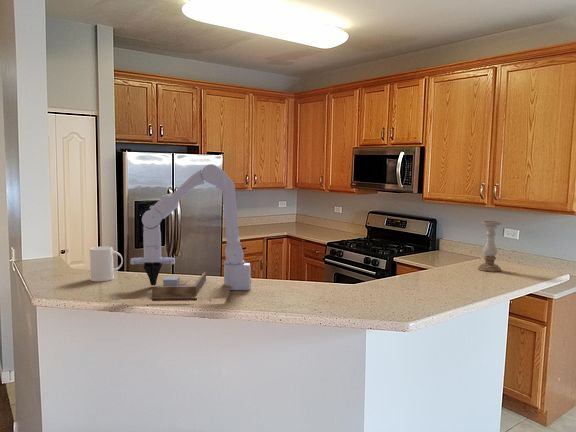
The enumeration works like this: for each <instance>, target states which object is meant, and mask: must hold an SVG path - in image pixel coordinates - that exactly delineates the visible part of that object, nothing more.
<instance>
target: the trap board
mask: <svg viewBox="0 0 576 432" xmlns="http://www.w3.org/2000/svg"><path fill="white" fill-rule="evenodd" d="M188 282H189V280H180V285H179V286H163V285H161V286H159V285H157V286H156V285H151V296H152V297H154V298H151V300H152V302H184V301H185V302H188V301H189V302H190V301H194V302H195V301H197V300H198V299H197V298H198V297H197V295H198V294H199V292H200V291H201V290H202V288H203V286H204V284H205V283H206V282H207V272H206V271H205V272H202V274H201V275H200V277H199V278H198V279H197V280H196V281H195V282H196V283H188ZM161 297H164V298H161ZM166 297H167V298H166ZM175 297H176V298H175ZM177 297H180V298H177Z"/></svg>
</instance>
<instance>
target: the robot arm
mask: <svg viewBox="0 0 576 432" xmlns="http://www.w3.org/2000/svg"><path fill="white" fill-rule="evenodd" d="M205 182H206V183H208V184H210V185H213V186H215V187H216V188H217V189H219V190H220V191H221V192H222V193H221V194H222V202H223V214H224V215H223V216H224V227H225V236H226V237H225V239H226V245H225V248H224V254H225V255H224V256H225V260H224V261H223V285H224V286H227V287H229V289H228V290H229V291H249V290H251V284H252V277H251V263H250V262H246V261H245V260H244V257H245V252H244V250H243V247H242V246H241V245H242V244H241V239H240V231H239V220H238V218H239V216H238V208H237V207H238V206H237V197H236V194H237V193H236V186H235V185H236V184H235V183H234V182H233V180H232V179H231V178H230V177H229V175H228V174H227V173H226V172H225V171H224V170H223V169H222V168H221V167H219V166H217V165H216V164H207V165H205V166H204V167H203V168H202V169H200V170H198V171H197V172H194V173H193V174H192V175H191V176H190V177H188V178H187V179H186V180H185V181H184V183H182V184H181V186H179V187H178V188H177V189H176V190H175V191H174V192H172V193H165V195H164V194H163V195H161V196H159V200H158V201H157V202H156V203H154V205H150V206H149V210H146V211H145V212H144V213H143V214H142V217H141V223H142V225H143V227H142V228H143V229H142V230H143V233H142V237H143V238H142V239H143V256H142V257H132V258H130V265H143V269H144V271H145V273H146V275H147V276H148V279H149V282H150V286H156V285H157V282H158V277H159V273H160V271H161V268H162V266H163V265H175V264H176V259H175V258H176V257H169V256H168V257H167V256H165V257H163V256H162V232H161V222H162V220H164V219H166V218H167V217H168V216H169V215H170V214H171V213H172V212H174V211H175V210H176V209H177V208H178V207H179V201H180V200H181V199H182V198H184V197H185V196H186V195H187V194H188V193H190V192H191V190H193V189H194V188H195V187H197V186H199V185H204V184H205Z"/></svg>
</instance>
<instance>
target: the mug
mask: <svg viewBox="0 0 576 432" xmlns="http://www.w3.org/2000/svg"><path fill="white" fill-rule="evenodd" d="M114 254H116V255H117V256H119V257H120V259H121V263H120V264H119V265H118V266H117V267H115V268H114ZM123 262H124V260H123V256H122V254H121V253H120V252H118V251H117V250H114V249H113V246H107V245H105V246H93V247H90V248H89V265H90V266H89V267H90V278H89V280H90V281H91V282H107V281H111V280H114V279H115V275H114V272H116V271H118V270H120V268H121V267H122V266H123Z"/></svg>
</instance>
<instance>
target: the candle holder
mask: <svg viewBox="0 0 576 432" xmlns="http://www.w3.org/2000/svg"><path fill="white" fill-rule="evenodd" d="M481 225H485V228H486V229H487V231H486V233H485V235H486V237H487V238H486V243H485V245H484V247H483V250H482V252H483V255H484V256H483V259H484V262H483V263H481V264H480V265H479V266H477V269H478V270H479V271H483V272H490V273H496V272H501V270H502V268H501V267H500V266H499V265H498V264H495V261H496V260H497V257H496V255H497V253H498V249H497V246H496V243H495V236H496V235H497V234H496V232H495V231H496V229H497V227H498V226H502V222H501V221H497V220H482V221H481Z"/></svg>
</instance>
